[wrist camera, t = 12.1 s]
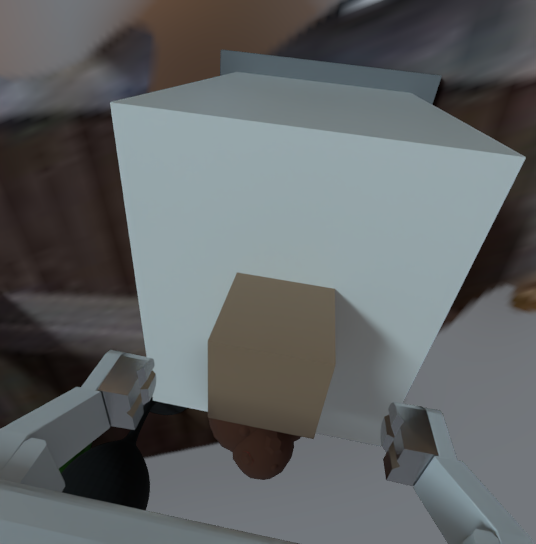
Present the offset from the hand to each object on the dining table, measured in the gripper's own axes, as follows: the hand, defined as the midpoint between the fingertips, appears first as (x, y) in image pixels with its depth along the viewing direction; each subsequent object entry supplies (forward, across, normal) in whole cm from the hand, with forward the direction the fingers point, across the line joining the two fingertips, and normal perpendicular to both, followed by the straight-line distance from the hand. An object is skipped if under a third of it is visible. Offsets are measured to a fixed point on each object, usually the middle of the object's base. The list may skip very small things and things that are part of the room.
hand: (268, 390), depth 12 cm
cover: (+22, 0, 0) cm, 22 cm away
